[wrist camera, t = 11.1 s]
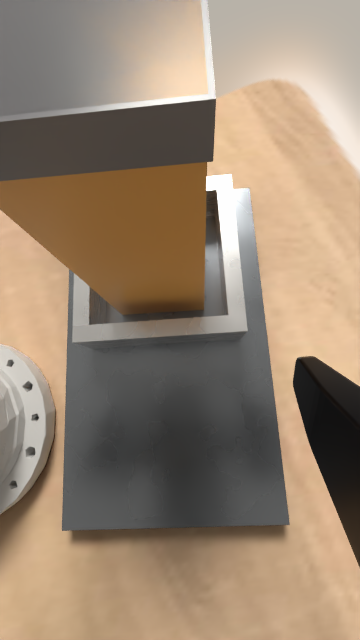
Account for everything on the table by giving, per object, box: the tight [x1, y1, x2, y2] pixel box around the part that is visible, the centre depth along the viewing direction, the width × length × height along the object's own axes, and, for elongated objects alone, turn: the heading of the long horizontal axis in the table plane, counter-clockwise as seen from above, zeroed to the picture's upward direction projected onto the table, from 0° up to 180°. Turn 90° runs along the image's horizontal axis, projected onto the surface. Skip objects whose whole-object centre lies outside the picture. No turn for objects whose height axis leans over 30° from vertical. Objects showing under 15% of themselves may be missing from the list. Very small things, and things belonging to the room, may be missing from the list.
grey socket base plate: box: [62, 174, 290, 531], centre depth 15 cm, size 18×11×4 cm, turn 3°
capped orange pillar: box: [0, 0, 216, 315], centre depth 11 cm, size 5×5×12 cm
